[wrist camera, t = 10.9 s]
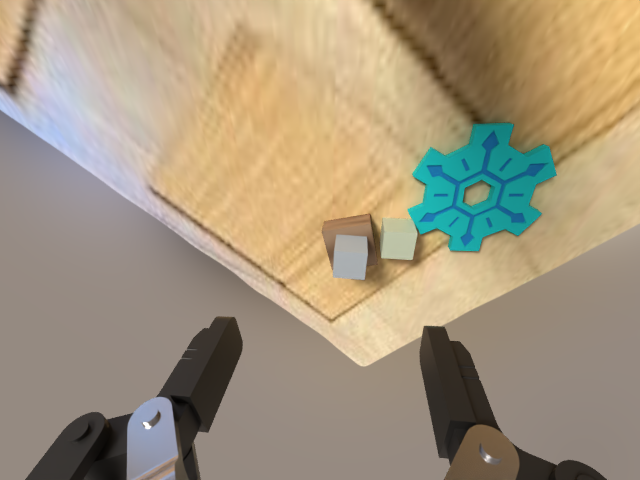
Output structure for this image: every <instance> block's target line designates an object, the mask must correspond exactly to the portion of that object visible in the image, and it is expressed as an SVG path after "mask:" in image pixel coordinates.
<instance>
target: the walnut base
mask: <svg viewBox="0 0 640 480" xmlns="http://www.w3.org/2000/svg"><path fill="white" fill-rule="evenodd" d="M322 234H323V238H324V241H325V245H326V249H327V252H328V256H329V260H330V263H331V267H332V270H333V264H334V248H335V241H336V234H337V235H351V236H366V237H367V248H368V256H367V264H366V266H369V265H377V264H378V263H377V252H376V246H375V241H374V235H373V229H372V224H371V218H370V214H365V215H359V216H353V217H347V218H341V219H335V220H329V221H324V224H323V228H322Z"/></svg>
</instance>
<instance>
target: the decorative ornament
mask: <svg viewBox="0 0 640 480" xmlns="http://www.w3.org/2000/svg"><path fill="white" fill-rule="evenodd" d="M513 127H514V124H511V123H487V124H473V128H472V132H471V137H470V141H469V144H468V145H466V146H464V147H462V148H460V149H458V150H456V151H454V152H452V153H450V154H448V155H446V156H445V155H443V154H442V153H440V152H438V151H437V150H435V149H433V148H432V147H430V149H429V150H428V152H427V153H426V155H425V156H424V158H423V159H422V160H421V162H420V163H419V165H418V166H417V168H416V169H415V171H414V172H413V174H412V175H413V177H415V178H417V179H418V180H420V181H422V182H423V183H425V184H426V186H425V192H424V198H423V203H421V204H419V205H416V206H414V207H412V208H410V209H408V212H409V214H410V216H411V218H412V220H413V222H414V223H415V225H416V227H417V229H418V231H419V232H420V234H423V233H426V232H428V231H431V230H433V229H436V228H437V229H439V230H441V231H443V232H445V233H447V234H449V235H450V239H449V244H448V247H449V249H450V250H455V251H479V249H480V245H481V241H482V238H483V237H485V236H487V235H490V234H493V233H496V232H498V231H501V230H504V229H506V230H508V231H510V232H511V233H513V234H515V235H517V236H519V235H520V234H521V233H522V232H523V231H524V230H525V229H526V228H527V227H528V226H530V225H531V224H532V223H533V222H534V221H535V220H536V219H537V218H538V217H539V216H540V215H541V214H542V213H541V212H540V211H538V210H537V209H535V208H533V207H531V206H530V205H529V203H530V200H531V197H532V195H533V192H534V189H535V186H536V184H538V183H541V182H543V181H545V180H547V179H549V178H552V177H554V176H556V175H557V174H556V170H555V166H554V163H553V159H552V155H551V151H550V148H549V146H547V145H544V144H543V145H541V146H539V147H537V148H535V149H533V150H531V151H528V152H526V153H524V154H522V153H520V152H519V151H517V150H516V149H514V148H512V147H511V146H509V145H508V143H509V140H510V137H511V133H512V130H513ZM480 180H483V181H485V182H486V183H488V184H490V185H491V188H490V192H489V195H488V198H487V200H485V201H483V202H480V203H478V204H475V205H473V206H470V205H468V204H466V203H465V202H463V196H464V191H465V188H466V187H468V186H470V185H472V184H474V183H476V182H478V181H480Z"/></svg>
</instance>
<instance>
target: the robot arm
mask: <svg viewBox="0 0 640 480" xmlns="http://www.w3.org/2000/svg"><path fill="white" fill-rule="evenodd" d="M242 343H243V342H242V338H241V334H240V331H239V328H238V325H237V321H236V319H235V318H234V317H216V318H215V319H214V321H213V322H212V324H211V326H210V328H209V329H208V328H204V329H203V330H202V331H200V332H199V333H198V334H197V335H196V336H195V337H194V338H193V340H192V341H191V343H190V344H189V346H188V348H187V351H185V353H184V354H183V356H182V359H181V360H180V361H179V362H178V364H177V366H176V367H175V368H174V370H173V372H172V373H171V375H170V377H169V378H168V380H167V382H166V383H165V385H164V386H163V388H162V389H161V391H160V393H159V394H158V395H157V397H156V398H153V399H150V400H148V401H146V402H145V403H144V404H142V405H141V406H140V407H139V408H138V409H137V410H136V411H135V412H134V413H131V414H127V415H124V416H119V417H115V418H112V419H106V418H105V417H104V416H103V415H102V414H101V413H99V412H91V413H88V414H85V415H83V416H81V417H79V418H77V419H76V420H74V421H73V422H72V423H70V424H69V425H68V426H67V427H66V428H65V429H64V430H63V432H62V433H61V434H60V435H59V436H58V438H57V439H56V440H55V442H54V443H53V444H52V446H51V447H50V448H49V450H48V451H47V452H46V453H45V455H44V456H43V457H42V459H41V460H40V461H39V463H38V464H37V465H36V466H35V468H34V469H33V470H32V472H31V473H30V474H29V475H28V477H27V478H26V479H25V480H201V478H200V472H199V466H198V460H197V455H196V449H195V444H194V439H195V437H196V435H197V432H209V429H210V427H211V425H212V422H213V420H214V417H215V415H216V413H217V410H218V408H219V406H220V403H221V401H222V398H223V396H224V394H225V391H226V389H227V386H228V384H229V381H230V379H231V377H232V374H233V372H234V370H235V367H236V365H237V362H238V360H239V357H240V355H241V352H242V346H243V344H242ZM420 365H421V370H422V375H423V380H424V385H425V390H426V395H427V400H428V405H429V410H430V415H431V420H432V425H433V430H434V435H435V440H436V445H437V449H438V454H439V457H440V458H448V459H449V462H450V468H449V470H448V472H447V474H446V476H445V478H444V480H607V479H606V478H604V477H603V476H602V475H601V474H600V473H598V472H597V471H596V470H594V469H593V468H591V467H589V466H587V465H585V464H583V463H581V462H578V461H573V460H567V461H562V462H561V463H559V464H558V465H555V464H553V463H550V462H548V461H545V460H543V459H541V458H538V457H536V456H533V455H531V454H529V453H527V452H525V451H522V450H521V449H519V448H518V447H517V446H515V445H514V444H513V443H512V442H511V441H510V440H509V439H508V438H507V437H506V436H505V435H504V434H503V433H502V431H501V430H500V428H499V427H498V425H497V423H496V420H495V417H494V415H493V412H492V410H491V407H490V404H489V402H488V399H487V397H486V394H485V391H484V389H483V386H482V384H481V381H480V380H479V376H478V373H477V371H476V369H475V365H474V363H473V360H472V358H471V355H470V353H469V352H468V351H467V350H466V348H465V347H464V346H463V345H462V344H461V342H459V341H450V340H449V337H448V334H447V331H446V329H445V327H439V326H424V329H423V334H422V341H421V347H420Z"/></svg>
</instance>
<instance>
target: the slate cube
mask: <svg viewBox="0 0 640 480" xmlns="http://www.w3.org/2000/svg"><path fill="white" fill-rule="evenodd" d="M367 256H368V248H367V237H366V236H351V235H337V234H336V241H335V248H334V264H333V277H335V278H347V279H359V280H365V273H366V264H367Z"/></svg>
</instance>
